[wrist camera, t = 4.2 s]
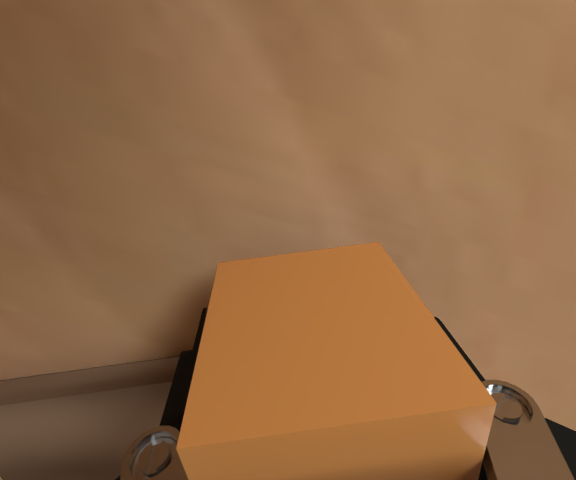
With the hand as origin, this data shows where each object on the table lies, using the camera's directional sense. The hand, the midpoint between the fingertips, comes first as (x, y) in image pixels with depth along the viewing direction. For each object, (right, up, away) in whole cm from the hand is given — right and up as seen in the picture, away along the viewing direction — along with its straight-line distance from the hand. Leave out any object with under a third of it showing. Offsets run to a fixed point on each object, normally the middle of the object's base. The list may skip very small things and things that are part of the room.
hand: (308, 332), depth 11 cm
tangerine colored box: (0, 0, +1) cm, 1 cm away
